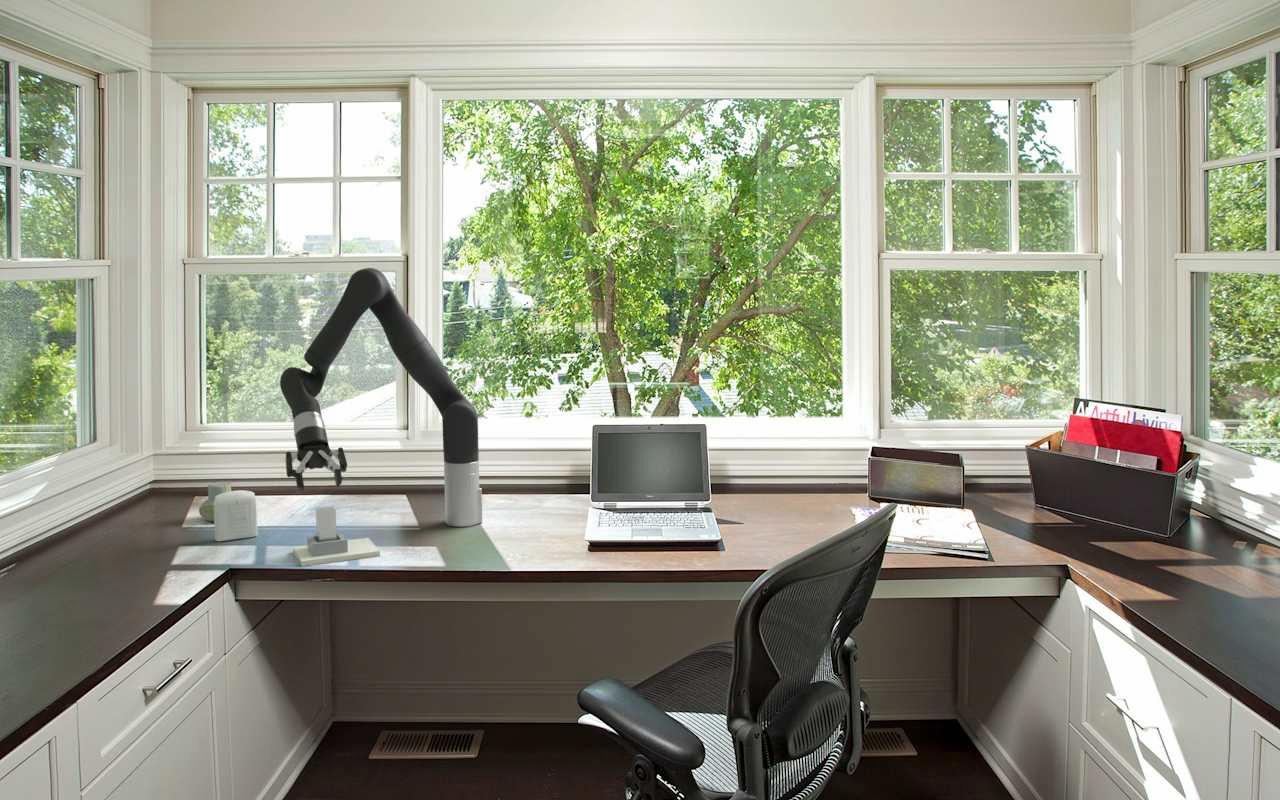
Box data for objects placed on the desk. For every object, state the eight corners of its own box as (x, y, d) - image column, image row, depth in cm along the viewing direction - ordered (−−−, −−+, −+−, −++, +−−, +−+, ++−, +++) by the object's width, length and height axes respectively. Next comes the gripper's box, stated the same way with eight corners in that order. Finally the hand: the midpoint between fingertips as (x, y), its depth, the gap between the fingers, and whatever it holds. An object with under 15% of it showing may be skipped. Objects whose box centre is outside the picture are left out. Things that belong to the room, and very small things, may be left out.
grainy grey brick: (334, 546, 236) (332, 506, 235) (337, 550, 232) (335, 510, 231) (317, 548, 234) (315, 508, 233) (320, 552, 231) (318, 511, 229)
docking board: (368, 542, 244) (367, 526, 244) (379, 555, 233) (379, 538, 232) (293, 551, 236) (292, 535, 235) (301, 566, 224) (300, 548, 224)
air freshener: (194, 522, 264) (191, 486, 262) (214, 514, 272) (212, 479, 270) (228, 524, 261) (226, 488, 260) (248, 517, 269) (246, 482, 268)
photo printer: (256, 533, 252) (253, 487, 251) (259, 537, 249) (257, 490, 247) (213, 539, 247) (211, 491, 245) (217, 543, 243) (214, 495, 242)
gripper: (281, 427, 240) (291, 481, 231) (340, 422, 246) (352, 475, 238) (280, 444, 245) (289, 498, 236) (337, 440, 251) (348, 492, 243)
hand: (320, 486), depth 237 cm, fingers open, 8 cm apart
